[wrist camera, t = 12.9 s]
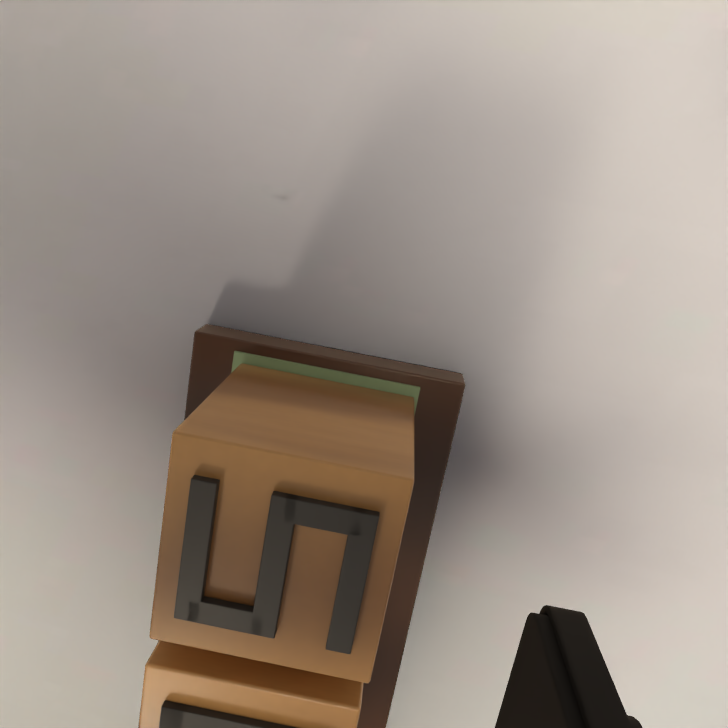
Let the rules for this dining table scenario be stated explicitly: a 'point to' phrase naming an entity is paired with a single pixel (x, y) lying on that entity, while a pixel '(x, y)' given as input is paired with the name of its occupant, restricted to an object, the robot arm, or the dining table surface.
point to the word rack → (431, 451)
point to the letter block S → (285, 521)
